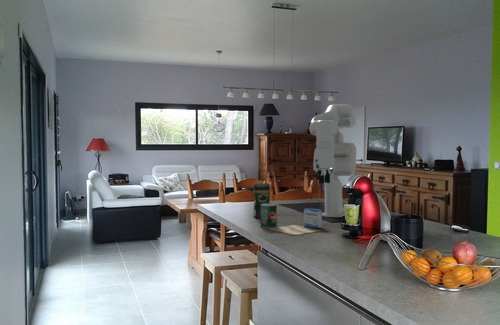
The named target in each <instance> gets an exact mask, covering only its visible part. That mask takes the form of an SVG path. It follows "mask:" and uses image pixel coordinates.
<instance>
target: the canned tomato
mask: <svg viewBox="0 0 500 325" xmlns="http://www.w3.org/2000/svg"><path fill="white" fill-rule="evenodd" d="M277 209H278V208H277V203H273V202H271V203H264V204H261V218H260V228H263V229H270V228H277V227H278V226H277V225H278V221H277V220H278V218H277V216H278V215H277Z"/></svg>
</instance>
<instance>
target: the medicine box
mask: <svg viewBox="0 0 500 325" xmlns="http://www.w3.org/2000/svg"><path fill="white" fill-rule="evenodd" d="M322 213H323V209H319V208H318V209H316V208H304V209H303V221H302V223H303V225H302V226H303V227H307V228H313V229H319V228H322V219H323V216H322Z"/></svg>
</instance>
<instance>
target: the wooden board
mask: <svg viewBox="0 0 500 325" xmlns="http://www.w3.org/2000/svg"><path fill="white" fill-rule="evenodd" d="M269 230H270V231H273V232H279V233H281V234H286V235H290V236H293V237H296V236H300V235H301V236H302V235H307V234H313V233H319V232H320V233H321V230H319V229H317V228H313V227H304V226H303V225H298V224H291V225H286V226H280V227H278V226H277V227H275V228H269Z"/></svg>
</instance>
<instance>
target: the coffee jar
mask: <svg viewBox="0 0 500 325" xmlns="http://www.w3.org/2000/svg"><path fill="white" fill-rule="evenodd" d="M252 193H253V196H254V197H253V199H254V200H253V201H254V202H253V217H254V218H260V219H261V204H264V203H270V194H271V186H270V184H269V183H264V182H263V183H262V182H261V183H254V184H253V188H252Z"/></svg>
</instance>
